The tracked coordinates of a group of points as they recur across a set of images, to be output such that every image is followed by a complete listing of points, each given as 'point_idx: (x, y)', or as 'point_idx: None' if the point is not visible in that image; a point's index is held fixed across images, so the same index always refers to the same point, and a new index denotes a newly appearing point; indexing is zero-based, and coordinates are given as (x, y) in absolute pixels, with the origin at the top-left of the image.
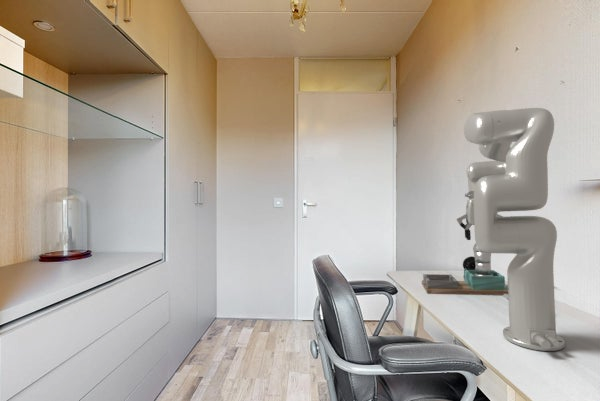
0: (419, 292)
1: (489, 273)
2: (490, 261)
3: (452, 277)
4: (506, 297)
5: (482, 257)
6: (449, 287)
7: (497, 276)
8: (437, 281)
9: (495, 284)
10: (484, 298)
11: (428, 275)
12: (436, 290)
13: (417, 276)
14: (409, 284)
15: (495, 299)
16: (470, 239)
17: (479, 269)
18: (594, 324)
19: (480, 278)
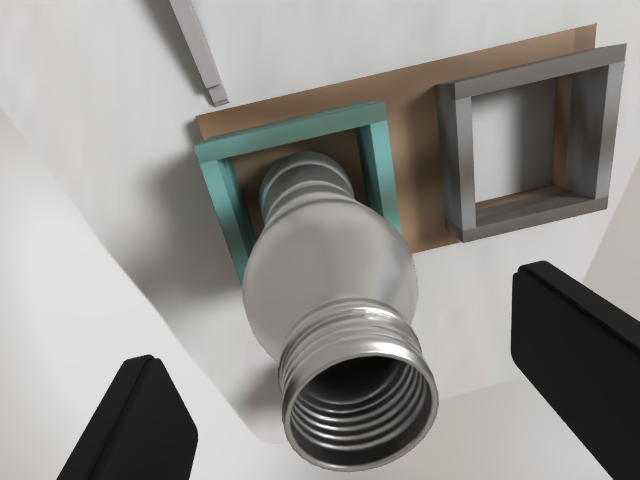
0: (612, 40)
1: (278, 179)
2: (264, 226)
3: (468, 177)
4: (210, 53)
5: (328, 191)
6: (484, 73)
7: (234, 145)
8: (568, 57)
9: (252, 129)
10: (315, 19)
11: (580, 201)
12: (547, 35)
13: None
14: (624, 182)
15: (264, 15)
16: (518, 270)
17: (338, 181)
18: None
19: (333, 112)
